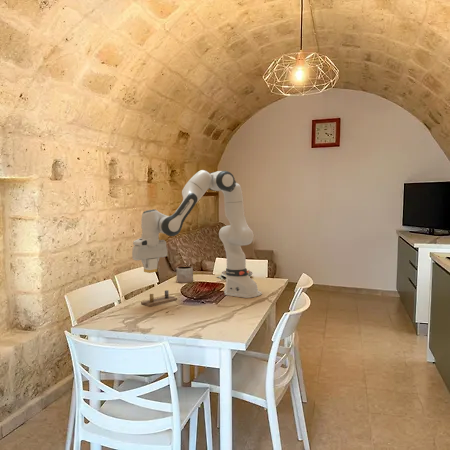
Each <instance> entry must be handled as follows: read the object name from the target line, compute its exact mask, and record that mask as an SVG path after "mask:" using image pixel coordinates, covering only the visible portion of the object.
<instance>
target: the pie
mask: <svg viewBox="0 0 450 450" xmlns="http://www.w3.org/2000/svg"><path fill="white" fill-rule="evenodd" d="M247 271H248V270H247ZM248 275H249V276H250V277H251V278H252V275H253V271H250V270H249V271H248ZM224 277H225V278H224ZM216 278H218V279H220V280H222V279H224V281H226V279H227V275H226V270H222V272H221V273H220V275H218V276H217V277H216Z"/></svg>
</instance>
